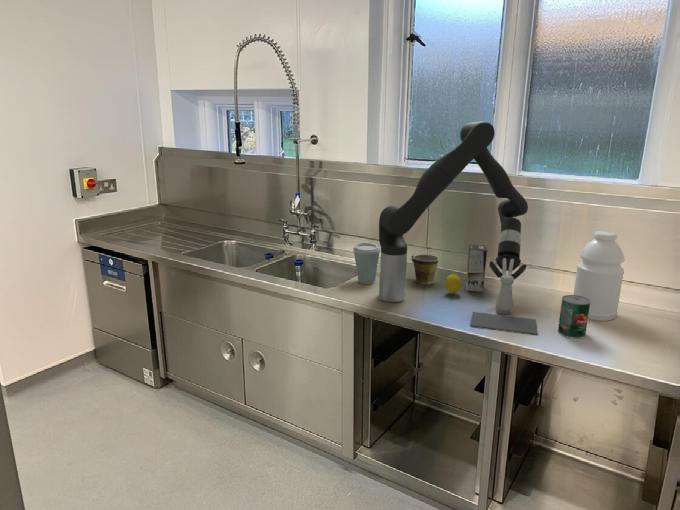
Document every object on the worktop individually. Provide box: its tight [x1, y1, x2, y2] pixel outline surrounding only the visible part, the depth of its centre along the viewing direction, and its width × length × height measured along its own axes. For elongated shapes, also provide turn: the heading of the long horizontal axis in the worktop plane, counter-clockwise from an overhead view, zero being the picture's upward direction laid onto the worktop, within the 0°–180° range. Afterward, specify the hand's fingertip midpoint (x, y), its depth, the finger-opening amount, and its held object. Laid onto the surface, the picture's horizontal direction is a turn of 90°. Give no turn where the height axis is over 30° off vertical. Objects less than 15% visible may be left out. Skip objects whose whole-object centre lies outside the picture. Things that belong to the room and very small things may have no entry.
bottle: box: [573, 230, 626, 322], centre depth 172 cm, size 14×14×28 cm
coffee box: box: [465, 244, 488, 293], centre depth 199 cm, size 9×6×16 cm
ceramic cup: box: [411, 253, 440, 286], centre depth 207 cm, size 13×10×10 cm
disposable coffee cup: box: [352, 241, 381, 285], centre depth 204 cm, size 11×11×15 cm
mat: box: [469, 311, 538, 336], centre depth 167 cm, size 12×20×1 cm, turn 72°
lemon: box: [445, 273, 462, 295], centre depth 192 cm, size 6×6×8 cm
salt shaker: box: [495, 274, 515, 316], centre depth 174 cm, size 6×6×13 cm
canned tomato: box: [557, 294, 590, 339], centre depth 159 cm, size 8×8×11 cm
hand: (505, 288), depth 179 cm, fingers closed
